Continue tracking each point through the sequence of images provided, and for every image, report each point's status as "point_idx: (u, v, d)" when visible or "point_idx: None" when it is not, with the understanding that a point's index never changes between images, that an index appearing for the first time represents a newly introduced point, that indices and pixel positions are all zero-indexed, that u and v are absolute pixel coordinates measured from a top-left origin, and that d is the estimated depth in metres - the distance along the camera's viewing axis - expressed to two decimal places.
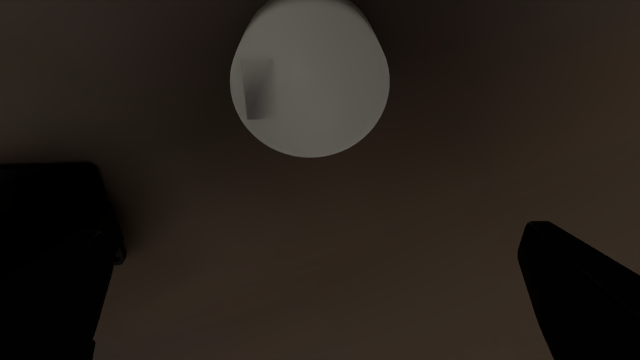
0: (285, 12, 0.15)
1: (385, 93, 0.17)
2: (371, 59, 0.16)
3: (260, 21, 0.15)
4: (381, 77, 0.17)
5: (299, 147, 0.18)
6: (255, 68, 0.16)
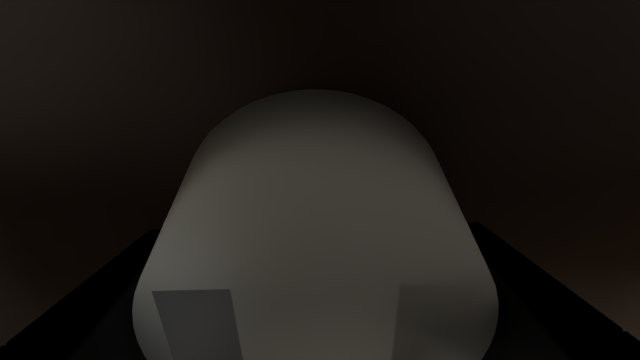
0: (256, 204, 0.06)
1: (484, 344, 0.08)
2: (461, 289, 0.07)
3: (194, 220, 0.06)
4: (479, 318, 0.07)
5: None
6: (190, 306, 0.07)
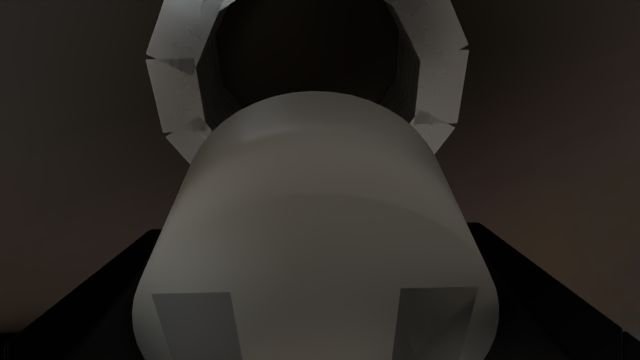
0: (255, 207, 0.06)
1: (484, 346, 0.08)
2: (461, 292, 0.07)
3: (193, 223, 0.06)
4: (479, 321, 0.07)
5: None
6: (189, 309, 0.07)
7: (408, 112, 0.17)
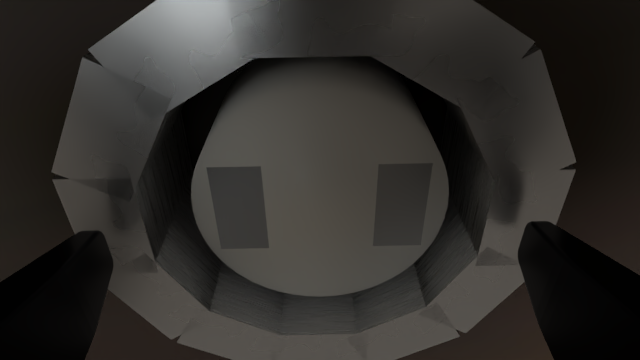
0: (281, 98, 0.09)
1: (440, 215, 0.11)
2: (421, 168, 0.10)
3: (238, 111, 0.09)
4: (435, 193, 0.10)
5: (302, 284, 0.12)
6: (231, 180, 0.10)
7: (464, 241, 0.11)
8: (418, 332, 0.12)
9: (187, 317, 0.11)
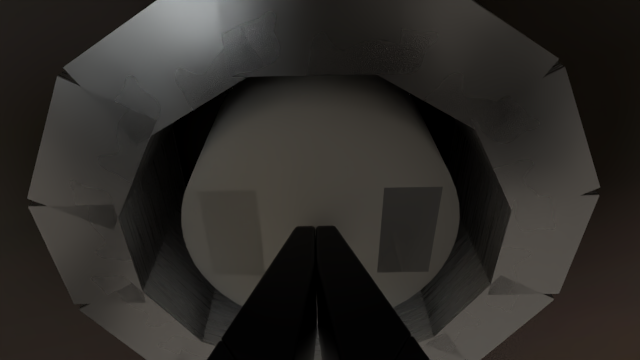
0: (278, 118, 0.08)
1: (450, 241, 0.10)
2: (430, 192, 0.09)
3: (232, 132, 0.08)
4: (445, 218, 0.09)
5: None
6: (225, 205, 0.09)
7: (475, 267, 0.10)
8: None
9: (178, 348, 0.11)
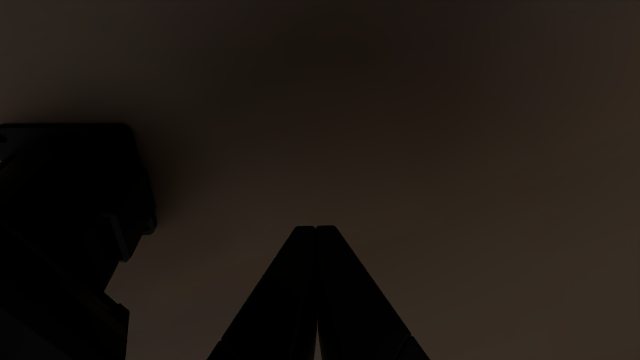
0: None
1: None
2: None
3: None
4: None
5: None
6: None
7: None
8: None
9: None
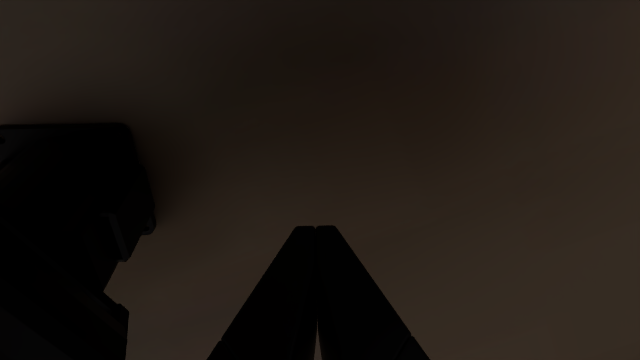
0: None
1: None
2: None
3: None
4: None
5: None
6: None
7: None
8: None
9: None
